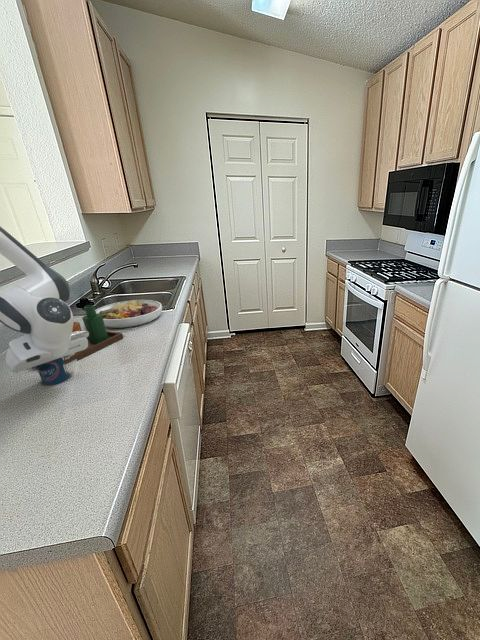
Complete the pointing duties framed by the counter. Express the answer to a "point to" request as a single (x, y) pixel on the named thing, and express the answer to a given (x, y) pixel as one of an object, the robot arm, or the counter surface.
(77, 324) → the amber bottle
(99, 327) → the green bottle
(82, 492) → the counter surface
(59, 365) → the soda can
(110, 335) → the tray
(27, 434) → the counter surface
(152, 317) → the bowl
